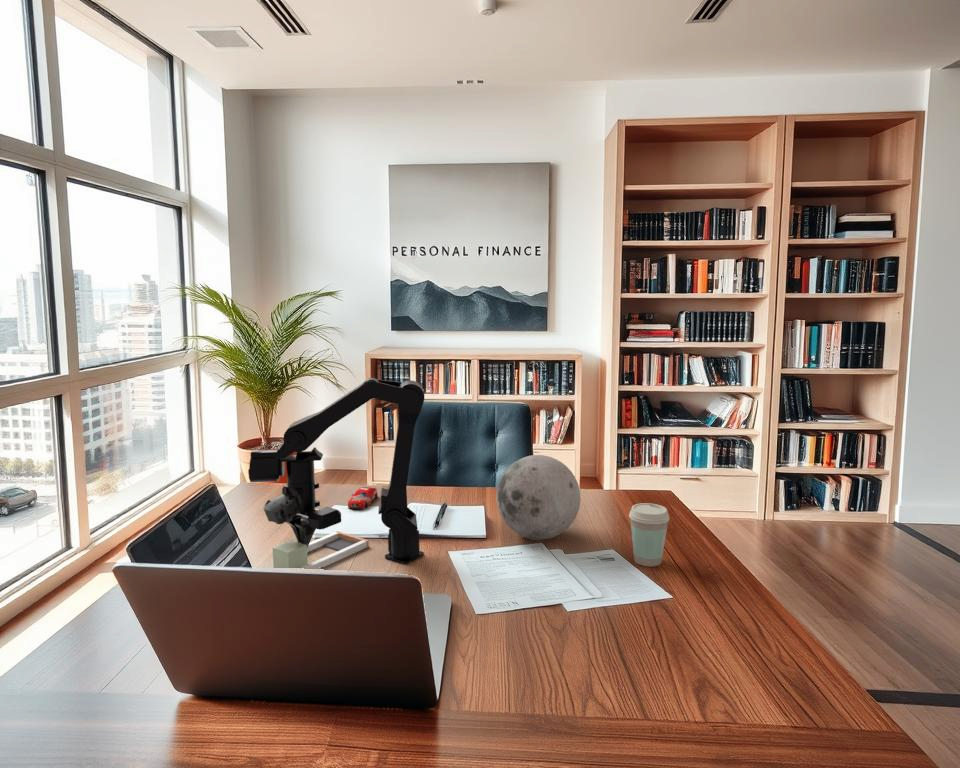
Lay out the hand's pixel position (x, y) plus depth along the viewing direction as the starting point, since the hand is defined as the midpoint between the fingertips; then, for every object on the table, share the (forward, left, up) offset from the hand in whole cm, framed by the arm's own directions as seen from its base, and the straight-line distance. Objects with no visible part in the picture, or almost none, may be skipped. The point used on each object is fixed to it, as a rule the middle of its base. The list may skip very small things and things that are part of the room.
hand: (304, 549), depth 140 cm
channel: (0, -5, -3) cm, 6 cm away
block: (0, +4, -3) cm, 5 cm away
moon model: (-35, -42, -3) cm, 55 cm away
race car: (+19, -37, -4) cm, 41 cm away
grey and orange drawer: (0, -11, -3) cm, 12 cm away
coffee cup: (-62, -43, -3) cm, 75 cm away
